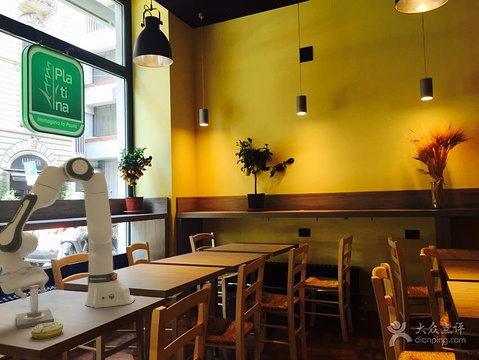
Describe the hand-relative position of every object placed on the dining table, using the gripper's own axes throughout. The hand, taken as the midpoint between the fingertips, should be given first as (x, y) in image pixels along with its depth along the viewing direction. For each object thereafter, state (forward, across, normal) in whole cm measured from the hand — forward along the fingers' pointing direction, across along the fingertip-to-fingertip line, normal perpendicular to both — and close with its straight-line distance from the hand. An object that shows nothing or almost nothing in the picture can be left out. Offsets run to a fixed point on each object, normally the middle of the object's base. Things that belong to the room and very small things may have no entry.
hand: (35, 295), depth 161 cm
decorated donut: (+22, -13, -6) cm, 26 cm away
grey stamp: (+6, 0, +7) cm, 9 cm away
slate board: (+7, 0, +8) cm, 10 cm away
